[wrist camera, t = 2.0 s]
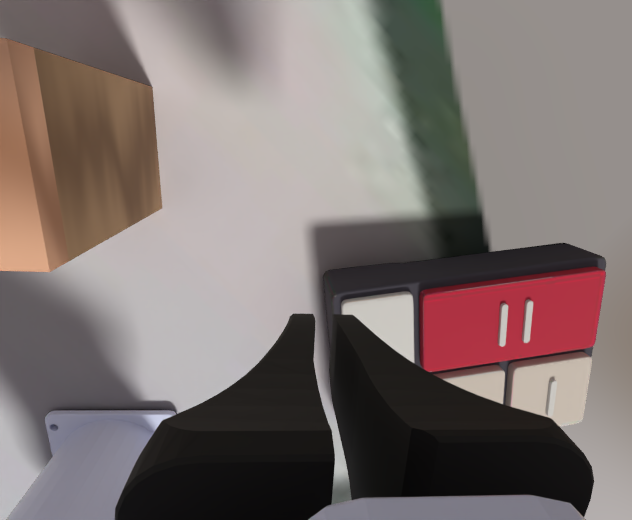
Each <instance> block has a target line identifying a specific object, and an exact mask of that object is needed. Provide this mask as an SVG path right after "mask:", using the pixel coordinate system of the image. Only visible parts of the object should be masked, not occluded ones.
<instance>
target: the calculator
mask: <svg viewBox="0 0 632 520" xmlns="http://www.w3.org/2000/svg"><path fill="white" fill-rule="evenodd" d="M605 268H606V260H605V258H604V257H602V256H600V255H597V254H594V253H591V252H589V251H586V250H583V249H581V248H578V247H575V246H572V245H570V244H567V243H556V244H548V245H541V246H534V247H525V248H518V249H510V250H502V251H494V252H487V253H479V254H471V255H464V256H456V257H448V258H441V259H433V260H425V261H418V262H410V263H387V264H378V265H369V266H360V267H351V268H342V269H334V270H328V271H327V272H325V274H324V276H323V283H324V293H325V303H326V314H327V324H328V334H329V344H330V354H331V339H332V324H333V314H343V315H354V316H355V317H356V318H357V319H359V320H360V321H361V322H362V323H363V324H364V325H365V326H366V327H367V328H369V329H370V330H371V331H372V332H373V333H374V334H375V335H377V336H378V337H379V338H380V339H381V340H383V341H384V342H385V343H386V344H387V345H389V346H390V347H391V348H393V349H394V350H395V351H397V352H398V353H400V354H401V355H402V356H404V357H405V358H407V359H408V360H410V361H411V362H413V363H414V364H416V365H418V366H419V367H421V368H423V369H424V370H426V371H428V372H429V373H431V374H433V375H435V376H437V377H439V378H441V379H443V380H445V381H447V382H449V383H451V384H453V385H455V386H458V387H460V388H462V389H464V390H467V391H469V392H471V393H474V394H476V395H479V396H481V397H484V398H487V399H490V400H493V401H495V402H498V403H501V404H504V405H507V406H510V407H514V408H517V409H521V410H524V411H528V412H531V413H535V414H538V415H542V416H545V417H549V418H552V419H553V420H554V422H555V423H556V424H557V425H558V426H565V425H571V424H576V423H580V422H581V421H582V418H583V415H584V408H585V402H586V396H587V390H588V383H589V377H590V371H591V365H592V358H591V356H592V349H593V345H594V343H595V340H596V334H597V327H598V321H599V315H600V309H601V302H602V296H603V289H604V284H605V277H606V272H605Z"/></svg>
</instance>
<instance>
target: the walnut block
mask: <svg viewBox="0 0 632 520" xmlns="http://www.w3.org/2000/svg"><path fill="white" fill-rule="evenodd" d="M161 208H162V200H161V188H160V176H159V163H158V151H157V139H156V127H155V114H154V102H153V90H152V87H151V86H148V85H145V84H142V83H139V82H136V81H133V80H130V79H127V78H124V77H121V76H118V75H115V74H112V73H109V72H106V71H103V70H100V69H97V68H94V67H91V66H88V65H85V64H82V63H79V62H76V61H73V60H70V59H67V58H64V57H61V56H58V55H55V54H52V53H49V52H46V51H43V50H40V49H37V48H34V47H31V46H28V45H25V44H22V43H19V42H16V41H13V40H10V39H6V38H0V271H29V272H51V271H52V270H54V269H56V268H58V267H59V266H61V265H63V264H65V263H66V262H68V261H70V260H72V259H74V258H75V257H77V256H79V255H81V254H82V253H84V252H86V251H88V250H89V249H91V248H93V247H95V246H96V245H98V244H100V243H102V242H103V241H105V240H107V239H109V238H110V237H112V236H114V235H116V234H118V233H119V232H121V231H123V230H125V229H126V228H128V227H130V226H132V225H133V224H135V223H137V222H139V221H140V220H142V219H144V218H146V217H147V216H149V215H151V214H153V213H154V212H156V211H158V210H160V209H161Z"/></svg>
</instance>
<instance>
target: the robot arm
mask: <svg viewBox="0 0 632 520" xmlns="http://www.w3.org/2000/svg"><path fill="white" fill-rule="evenodd" d="M314 338H315V318H314V315H313V314H293V315H291V316H290V318H289V321H288V323H287V325H286V327H285V329H284V331H283V332H282V334H281V335H280V337H279V338H278V340H277V341H276V343H275V344H274V345H273V347H272V348H271V349H270V350H269V351H268V353H267V354H266V355H265V356H264V357H263V359H262V360H261V361H260V362H259V363H258V364H257V365H256V366H255V367H254V368H253V369H252V370H251V371H249V372H248V373H247V374H246V375H245V376H244V377H242V378H241V379H240V380H238V381H237V382H236V383H234V384H233V385H232V386H230V387H229V388H227V389H226V390H224V391H222V392H221V393H219V394H217V395H216V396H214V397H212V398H210V399H208V400H207V401H205V402H203V403H201V404H199V405H197V406H195V407H192V408H190V409H188V410H186V411H183V412H181V413H179V414H176V413H175V412H174V411H170V410H61V411H51V412H49V413H48V414H47V415H46V417H45V424H46V429H47V433H48V438H49V443H50V447H51V452H52V456H53V457H52V458H51V460H50V461H49V462H48V464H47V465H46V466H45V468H44V469H43V470H42V472H41V473H40V474H39V476H38V477H37V478H36V480H35V481H34V482H33V484H32V485H31V487H30V488H29V489H28V491H27V492H26V493H25V495H24V496H23V497H22V499H21V500H20V501H19V503H18V504H17V505H16V507H15V508H14V509H13V511H12V512H11V513H10V515H9V516H8V517H7V519H6V520H586V519H585V518H584V516H585V513H586V510H587V507H588V505H589V502H590V499H591V494H592V489H593V483H594V478H593V472H592V466H591V465H590V463H589V461H588V460H587V458H586V456H585V455H584V453H583V452H582V451H581V450H580V449H579V448H578V447H577V446H576V445H575V443H574V442H573V441H572V440H571V439H570V438H569V437H568V436H567V435H566V434H565V432H564V431H563V430H562V429H561V428H560V427H559V426H558V425H557V424H556V423H555V422H554V420H553V419H552V418H549V417H545V416H542V415H538V414H535V413H531V412H528V411H524V410H521V409H517V408H514V407H510V406H507V405H504V404H501V403H498V402H495V401H493V400H490V399H487V398H484V397H481V396H479V395H476V394H474V393H471V392H469V391H467V390H464V389H462V388H460V387H458V386H455V385H453V384H451V383H449V382H447V381H445V380H443V379H441V378H439V377H437V376H435V375H433V374H431V373H429V372H428V371H426V370H424V369H423V368H421V367H419V366H418V365H416V364H414V363H413V362H411V361H410V360H408V359H407V358H405V357H404V356H402V355H401V354H400V353H398V352H397V351H395V350H394V349H393V348H391V347H390V346H389V345H387V344H386V343H385V342H384V341H383V340H381V339H380V338H379V337H378V336H377V335H375V334H374V333H373V332H372V331H371V330H370V329H369V328H367V327H366V326H365V325H364V324H363V323H362V322H361V321H360V320H359V319H357V318H356V317H355V316H354V315H343V314H333V324H332V339H331V354H330V369H329V372H330V384H331V394H332V402H333V406H334V411H335V415H336V420H337V424H338V429H339V433H340V437H341V442H342V446H343V451H344V455H345V459H346V464H347V469H348V475H349V481H350V489H351V497H352V500H351V501H346V502H341V503H337V504H332V505H331V502H332V489H333V477H334V464H335V454H334V446H333V439H332V431H331V428H330V426H329V424H328V421H327V418H326V415H325V412H324V409H323V406H322V402H321V398H320V394H319V390H318V385H317V380H316V374H315V368H314V362H313V358H314ZM54 424H56V425H57V426H55V425H54Z"/></svg>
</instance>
